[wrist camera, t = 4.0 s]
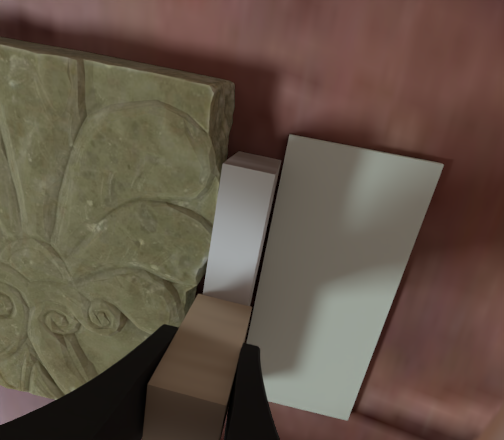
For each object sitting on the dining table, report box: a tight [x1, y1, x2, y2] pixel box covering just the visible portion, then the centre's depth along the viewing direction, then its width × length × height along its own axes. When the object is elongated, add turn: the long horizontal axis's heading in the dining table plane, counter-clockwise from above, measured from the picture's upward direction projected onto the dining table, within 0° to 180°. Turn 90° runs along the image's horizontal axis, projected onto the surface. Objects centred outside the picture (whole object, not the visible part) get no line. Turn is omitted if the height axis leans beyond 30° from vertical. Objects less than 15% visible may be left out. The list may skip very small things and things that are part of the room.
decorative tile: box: [0, 37, 235, 400], centre depth 18 cm, size 19×20×4 cm
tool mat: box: [247, 134, 444, 421], centre depth 18 cm, size 16×7×1 cm, turn 170°
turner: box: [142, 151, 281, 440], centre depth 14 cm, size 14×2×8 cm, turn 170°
